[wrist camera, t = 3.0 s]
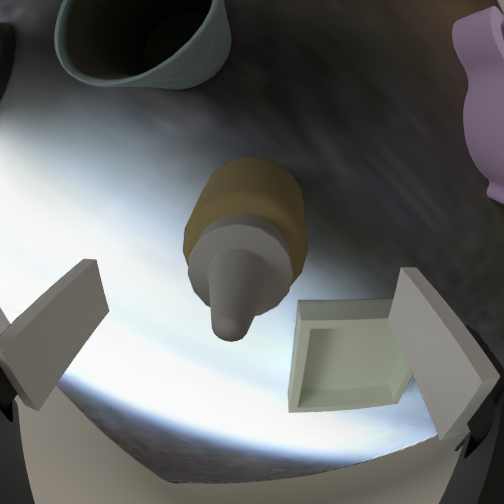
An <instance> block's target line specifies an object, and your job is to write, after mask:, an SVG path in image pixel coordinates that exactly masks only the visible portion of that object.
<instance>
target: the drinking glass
mask: <svg viewBox="0 0 504 504" xmlns="http://www.w3.org/2000/svg"><path fill="white" fill-rule="evenodd" d="M54 41H55V49H56V53H57V57H58V59H59V61H60V63H61V64H62V66H63V68H64V69H65V70H66V71H67V72H68V73H69V74H70V75H71V76H73V77H74V78H76V79H77V80H79V81H81V82H83V83H85V84H89V85H92V86H98V87H155V88H165V89H186V88H191V87H194V86H197V85H199V84H201V83H204V82H205V81H207V80H209V79H210V78H211V77H213V76H214V75H215V74H216V73H217V72H218V71H219V70H220V69H221V68H222V66H223V65H224V63H225V62H226V60H227V58H228V55H229V52H230V48H231V32H230V27H229V23H228V20H227V12H226V9H225V5H224V0H63V2H62V4H61V7H60V10H59V13H58V16H57V22H56V27H55V36H54Z"/></svg>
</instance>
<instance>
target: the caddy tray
mask: <svg viewBox="0 0 504 504" xmlns="http://www.w3.org/2000/svg"><path fill="white" fill-rule="evenodd" d="M392 302H393V299H370V300H298V306H297V317H296V327H295V336H294V345H293V354H292V363H291V371H290V379H289V387H288V410H289V413H290V412H321V411H337V410H349V409H360V408H369V407H377V406H384V405H391V404H398V402H399V400H400V398H401V396H402V394H403V393H404V391H405V389H406V387H407V385H408V383H409V381H410V379H411V377H412V375H413V374H412V372H411V369H410V367H409V365H408V363H407V361H406V359H405V357H404V354H403V352H402V350H401V348H400V346H399V344H398V342H397V340H396V338H395V336H394V334H393V332H392V330H391V328H390V326H389V324H388V322H387V321H388V317H389V314H390V310H391V306H392Z"/></svg>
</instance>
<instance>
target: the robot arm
mask: <svg viewBox="0 0 504 504" xmlns="http://www.w3.org/2000/svg"><path fill="white" fill-rule="evenodd" d="M14 47H15V42H14V34H13V31H12V29H11V27H10V26H9V25H8V24H6V23H2V22H0V100H1V97H2V95H3V93H4V90H5V88H6V85H7V82H8V79H9V76H10V72H11V68H12V63H13V58H14ZM108 312H109V308H108V305H107V301H106V297H105V294H104V290H103V286H102V282H101V278H100V273H99V269H98V265H97V260H95V259H83V260H82V261H80V262H79V263H78V264H77V265H76V266H74V267H73V268H72V269H71V270H70V271H69V272H67V273H66V274H65V275H64V276H63V277H62V278H60V279H59V280H58V281H57V282H56V283H55V284H54V285H52V286H51V287H50V288H49V289H48V290H47V291H46V292H45V293H44V294H42V295H41V296H40V297H39V298H38V299H37V300H36V301H35V302H34V303H33V304H32V305H31V306H29V307H28V308H27V309H26V310H25V311H24V312H23V313H22V314H21V315H20V316H19V317H17V318H16V319H15V320H14V321H13V322H12V324H10V325H9V326H8V327H7V329H6V330H4V331H3V333H2V334H1V335H0V504H35V503H34V499H33V495H32V492H31V488H30V484H29V479H28V475H27V470H26V465H25V460H24V454H23V448H22V441H21V433H20V424H19V414H18V405H17V402H16V401H15V399H14V398H15V397H16V395H17V394H18V396H19V397H20V398H21V400H22V401H23V403H24V404H25V405H26V406H28V407H30V408H32V409H34V410H37V411H39V410H40V408H41V407H42V405H43V404H44V402H45V401H46V399H47V397H48V396H49V394H50V393H51V391H52V390H53V388H54V387H55V385H56V384H57V382H58V381H59V380H60V378H61V377H62V375H63V374H64V372H65V371H66V369H67V368H68V366H69V365H70V364H71V362H72V361H73V359H74V358H75V357H76V355H77V354H78V352H79V351H80V350H81V348H82V347H83V345H84V344H85V343H86V341H87V340H88V339H89V337H90V336H91V335H92V333H93V332H94V330H95V329H96V328H97V326H98V325H99V324H100V323H101V321H102V320H103V319H104V317H105V316H106V315H107V313H108ZM387 322H388V324H389V326H390V328H391V330H392V332H393V334H394V336H395V338H396V340H397V342H398V344H399V346H400V348H401V350H402V352H403V354H404V357H405V359H406V361H407V363H408V365H409V367H410V369H411V372H412V374H413V376H414V378H415V381H416V383H417V385H418V387H419V390H420V392H421V394H422V397H423V399H424V401H425V404H426V406H427V409H428V411H429V414H430V416H431V419H432V421H433V424H434V426H435V429H436V431H437V434H438V436H439V439H440V441H441V440H444V439H447V438H451V437H454V436H457V435H458V434H459V433H460V432H461V431H462V430H463V429H464V427H465V426H466V425H468V427H469V429H470V432H469V433H468V434H467V435H466V436H465V438H464V439H463V440H462V441H461V442H460V444H459V445H458V446H457V447H456V449H455V451H458V450H459V449H460V447H461V446H462V445H463V447H462V450H461V453H460V455H459V458H458V461H457V463H456V466H455V468H454V471H453V474H452V476H451V478H450V481H449V483H448V485H447V487H446V490H445V492H444V494H443V496H442V498H441V500H440V502H439V504H504V368H503V367H502V365H501V364H500V363H499V361H498V360H497V358H496V357H495V355H494V354H493V353H492V352H490V349H489V347H488V346H487V344H485V342H484V340H483V339H482V338H481V336H480V335H479V334H478V333H477V332H476V331H474V330H473V329H472V328H470V327H469V326H464V324H463V323H462V322H461V320H460V319H459V318H458V317H457V315H456V314H455V313H454V312H453V310H452V309H451V308H450V307H449V305H448V304H447V303H446V302H445V300H444V299H443V298H442V297H441V296H440V294H439V293H438V292H437V291H436V290H435V288H434V287H433V286H432V285H431V284H430V283H429V281H428V280H427V279H426V278H425V277H424V276H423V275H422V274H421V272H420V271H419V270H418V269H417V268H416V267H401V269H400V274H399V278H398V282H397V287H396V291H395V295H394V299H393V302H392V306H391V310H390V314H389V317H388V321H387Z"/></svg>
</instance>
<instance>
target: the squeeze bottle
mask: <svg viewBox="0 0 504 504" xmlns="http://www.w3.org/2000/svg"><path fill="white" fill-rule="evenodd" d="M307 251H308V250H307V233H306V217H305V206H304V201H303V195H302V189H301V188H300V186H299V185H298V183H297V182H296V180H295V179H294V177H293V176H292V174H291V173H290V171H288V170H287V169H285V168H283V167H282V166H280V165H279V164H277V163H276V162H274V161H273V160H269V159H264V158H258V157H253V156H250V157H245V158H240V159H236V160H231V161H229V162H228V163H226V164H225V165H223V166H222V167H221V168H219V169H218V170H217V171H215V172H214V173H213V174H212V176H211V177H210V179H209V181H208V182H207V184H206V186H205V187H204V189H203V191H202V193H201V195H200V197H199V199H198V201H197V203H196V206H195V208H194V210H193V212H192V214H191V216H190V218H189V221H188V223H187V225H186V227H185V232H184V243H183V253H184V256H185V259H186V262H187V265H188V276H189V279H190V282H191V285H192V287H193V290H194V292H195V293H196V294H197V295H198V296H199V298H200V299H201V300H202V301H203V302H204V303H205V304H206V305H207V306H209V307H210V308H211V321H212V329H213V332H214V334H215V335H216V336H217V337H218V338H220V339H222V340H224V341H230V342H232V341H238V340H240V339H242V338H243V337H244V336H245V335H246V334H247V332H248V329H249V327H250V325H251V323H252V321H253V319H254V317H255V316H257V315H261V314H263V313H265V312H267V311H269V310H271V309H273V308H274V307H276V306H278V304H279V303H280V302H281V301H282V300H283V298H284V297H285V296H286V295H287V294H288V292H289V289H290V286H291V285H292V284H293V282H294V281H295V280H296V279H297V278H298V276H299V275H300V274H301V273H302V269H303V266H304V262H305V258H306V255H307Z"/></svg>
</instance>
